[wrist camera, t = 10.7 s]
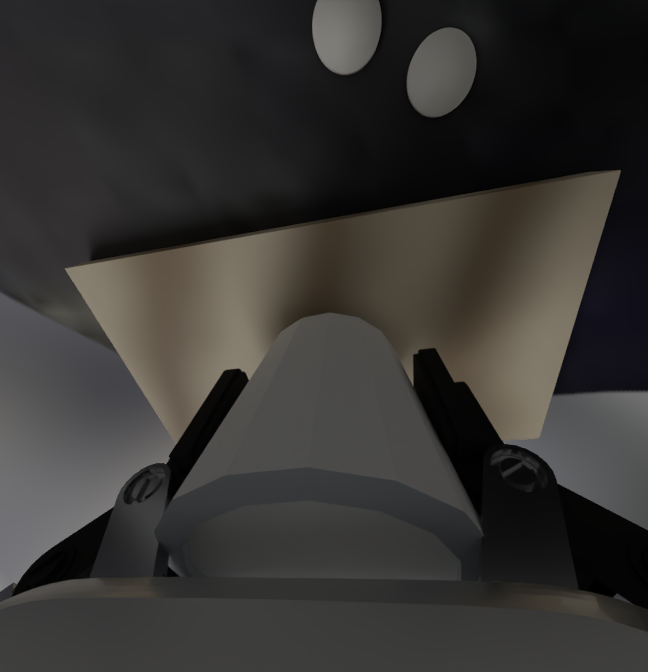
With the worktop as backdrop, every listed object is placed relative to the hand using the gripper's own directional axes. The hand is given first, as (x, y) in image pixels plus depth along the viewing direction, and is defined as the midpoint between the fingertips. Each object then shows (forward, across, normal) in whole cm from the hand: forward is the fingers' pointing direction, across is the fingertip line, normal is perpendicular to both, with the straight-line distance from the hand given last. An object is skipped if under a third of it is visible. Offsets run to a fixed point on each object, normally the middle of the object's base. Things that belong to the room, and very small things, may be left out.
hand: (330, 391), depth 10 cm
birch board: (+3, 0, 0) cm, 3 cm away
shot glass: (+1, 0, 0) cm, 1 cm away
